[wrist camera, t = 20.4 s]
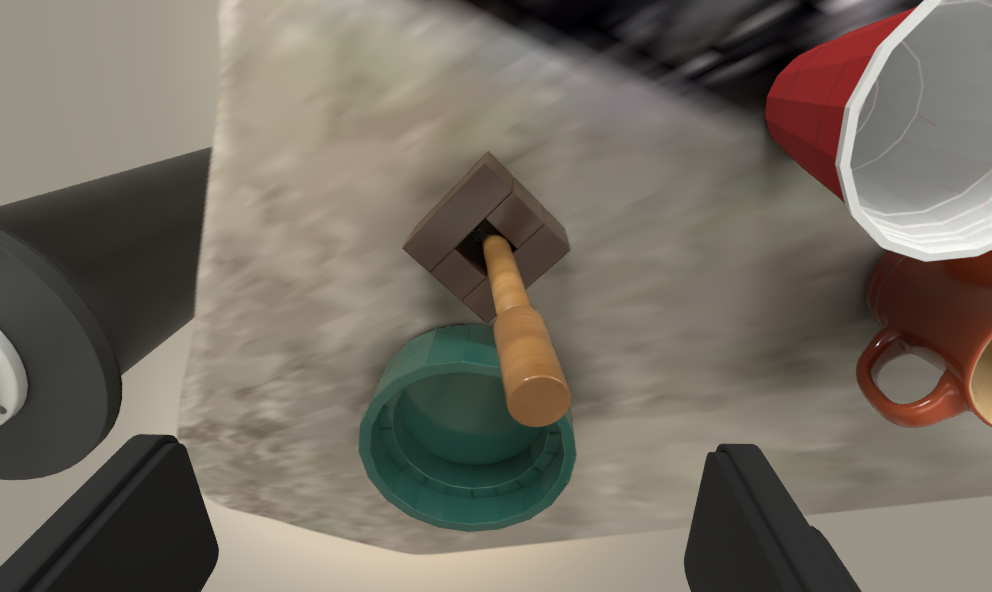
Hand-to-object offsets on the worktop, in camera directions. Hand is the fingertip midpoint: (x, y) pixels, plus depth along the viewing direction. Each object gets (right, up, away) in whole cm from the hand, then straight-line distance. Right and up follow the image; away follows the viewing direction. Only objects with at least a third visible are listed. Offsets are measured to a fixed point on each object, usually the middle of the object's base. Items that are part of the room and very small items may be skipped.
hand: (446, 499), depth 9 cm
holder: (0, +8, +24) cm, 25 cm away
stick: (+1, +8, +24) cm, 25 cm away
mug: (+27, +4, +25) cm, 37 cm away
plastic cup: (+19, +15, +20) cm, 32 cm away
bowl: (-1, -5, +30) cm, 30 cm away
